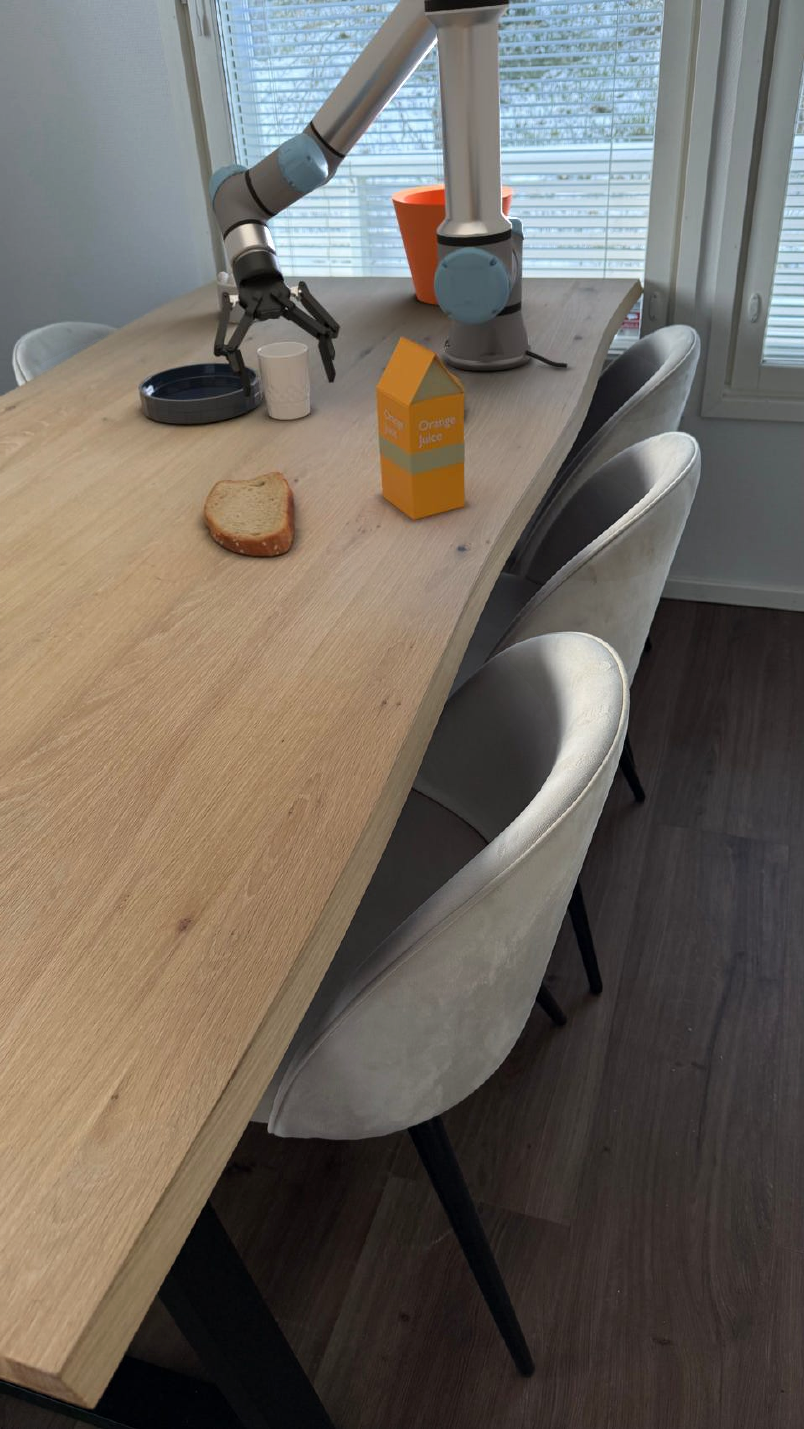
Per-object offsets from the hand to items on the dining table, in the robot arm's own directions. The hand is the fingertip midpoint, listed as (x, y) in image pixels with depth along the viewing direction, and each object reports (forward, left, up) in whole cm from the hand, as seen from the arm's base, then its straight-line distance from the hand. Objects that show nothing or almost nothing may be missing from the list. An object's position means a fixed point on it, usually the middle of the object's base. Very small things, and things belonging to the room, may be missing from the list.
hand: (291, 385), depth 155 cm
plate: (+17, +5, -5) cm, 19 cm away
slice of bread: (-25, +28, -5) cm, 38 cm away
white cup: (+2, -1, -5) cm, 6 cm away
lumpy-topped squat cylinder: (+56, -36, -5) cm, 67 cm away
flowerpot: (+29, -72, -5) cm, 78 cm away
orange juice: (-38, +11, -5) cm, 40 cm away
